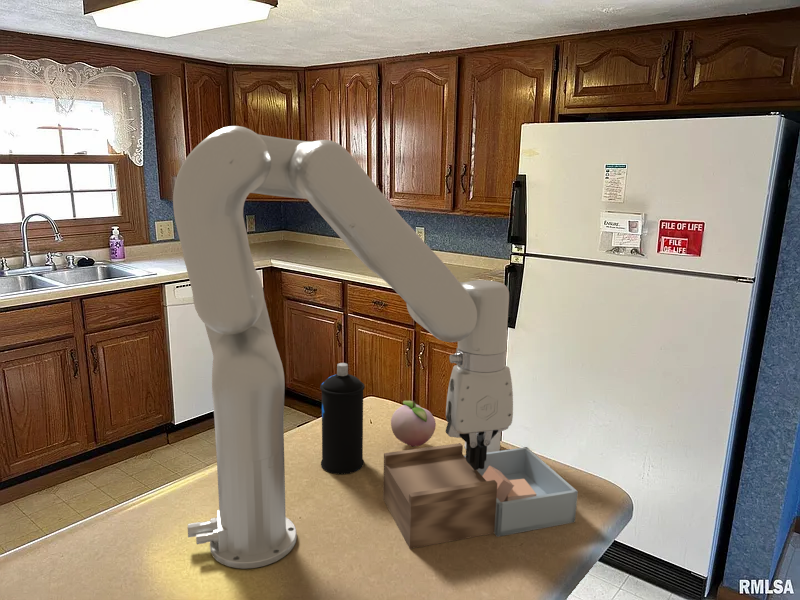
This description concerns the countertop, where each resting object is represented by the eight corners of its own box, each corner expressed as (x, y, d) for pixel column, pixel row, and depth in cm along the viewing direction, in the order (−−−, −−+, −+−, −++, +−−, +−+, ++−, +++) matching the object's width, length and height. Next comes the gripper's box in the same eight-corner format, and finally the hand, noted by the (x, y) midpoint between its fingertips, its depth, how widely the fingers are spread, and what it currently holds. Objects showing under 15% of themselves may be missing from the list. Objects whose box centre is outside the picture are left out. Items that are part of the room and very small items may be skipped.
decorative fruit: (381, 443, 121) (382, 398, 119) (412, 433, 126) (414, 389, 124) (409, 462, 114) (410, 413, 111) (441, 450, 118) (443, 404, 116)
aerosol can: (372, 461, 114) (373, 362, 109) (346, 479, 107) (346, 375, 102) (338, 449, 118) (338, 354, 114) (311, 466, 111) (310, 366, 107)
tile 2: (536, 494, 97) (535, 507, 98) (524, 478, 102) (523, 491, 102) (508, 496, 96) (507, 510, 97) (497, 481, 101) (496, 494, 101)
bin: (497, 536, 91) (499, 504, 90) (456, 484, 106) (457, 456, 105) (574, 522, 95) (577, 491, 94) (524, 474, 110) (526, 447, 109)
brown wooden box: (409, 548, 88) (411, 496, 86) (383, 499, 101) (384, 453, 99) (494, 533, 92) (497, 483, 90) (458, 487, 105) (460, 443, 103)
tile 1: (503, 479, 95) (514, 485, 96) (489, 465, 100) (499, 470, 101) (486, 505, 96) (497, 511, 96) (473, 489, 100) (484, 495, 101)
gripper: (446, 371, 87) (441, 483, 91) (535, 362, 91) (527, 470, 95) (428, 355, 94) (424, 461, 98) (511, 348, 98) (505, 449, 102)
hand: (475, 465), depth 97 cm, fingers closed
